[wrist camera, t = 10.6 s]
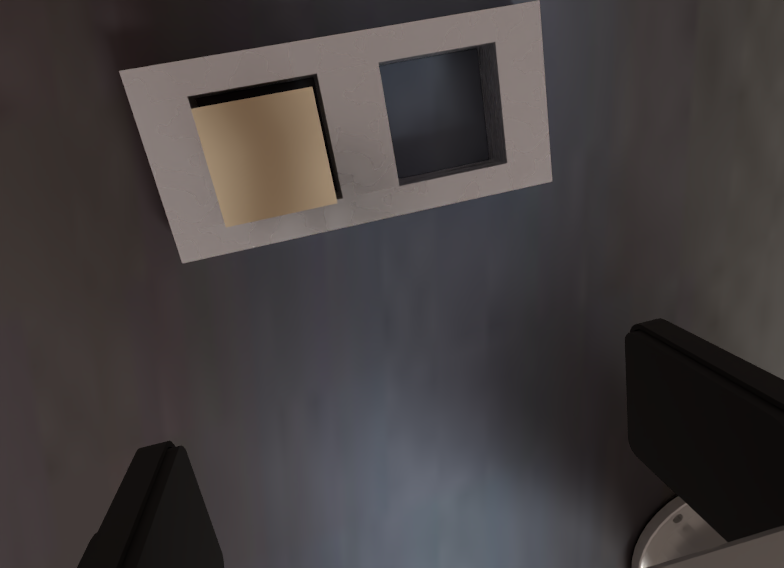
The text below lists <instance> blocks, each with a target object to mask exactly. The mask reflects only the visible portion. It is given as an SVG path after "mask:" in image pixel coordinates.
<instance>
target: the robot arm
mask: <svg viewBox="0 0 784 568" xmlns="http://www.w3.org/2000/svg"><path fill="white" fill-rule="evenodd" d="M625 357H626V386H627V415H628V439H629V444H630V447H631V449H632V451H633V452H634V454H635V455H636V456H637V457H638V458H639V459H640V460H641V461H642V462H643V463H644V464H645V465H646V466H647V467H648V468H649V469H650V470H652V471H653V472H654V473H655V474H656V475H657V476H658V477H659V478H660V479H661V480H662V481H663V482H664V483H665V484H666V485H667V486H669V487H670V488H671V489H672V490H673V491H674V492H675V493H676V494H677V495H678V496H677V497H676V498H675V499H673V500H672V501H670V502H669V503H667V504H666V505H665V506H664V507H663V508H662V509H661V510H660V511H658V512H657V513H656V515H655V516H654V517H653V518H652V519H651V520H650V522H649V523H648V524H647V525H646V527H645V529H644V530H643V532H642V533H641V535H640V537H639V539H638V541H637V544H636V546H635V549H634V553H633V557H632V568H784V380H783V379H781V378H779V377H777V376H775V375H773V374H771V373H769V372H767V371H765V370H763V369H761V368H759V367H757V366H755V365H753V364H751V363H749V362H747V361H745V360H743V359H741V358H739V357H737V356H735V355H733V354H731V353H729V352H727V351H725V350H723V349H721V348H719V347H717V346H716V345H714V344H712V343H710V342H708V341H706V340H704V339H702V338H700V337H698V336H696V335H694V334H692V333H690V332H688V331H686V330H684V329H682V328H680V327H678V326H676V325H674V324H672V323H670V322H668V321H666V320H664V319H661V318H660V319H655V320H651V321H647V322H643V323H639V324H635V325H634V326H633V327H632V328H631V331H630V333H628V334H627V335H626V337H625ZM77 568H224V561H223V555H222V552H221V549H220V546H219V543H218V540H217V537H216V534H215V532H214V529H213V526H212V523H211V520H210V517H209V514H208V512H207V509H206V506H205V503H204V500H203V497H202V495H201V492H200V489H199V486H198V483H197V480H196V477H195V475H194V472H193V469H192V466H191V463H190V460H189V458H188V455H187V452H186V450H185V448H184V447H183V446H178V447H175V445H174V444H173V443H172V442H171V441H167V442H163V443H159V444H155V445H151V446H147V447H143V448H139V449H138V450H137V452H136V454H135V456H134V458H133V460H132V462H131V464H130V466H129V468H128V470H127V472H126V474H125V476H124V478H123V481H122V483H121V485H120V487H119V489H118V491H117V493H116V495H115V497H114V499H113V501H112V503H111V506H110V508H109V510H108V512H107V514H106V516H105V518H104V520H103V522H102V524H101V526H100V528H99V531H98V532H97V533H96V534H94V536H93V537H92V539H91V540H90V542H89V544H88V546H87V548H86V550H85V552H84V554H83V557H82V559H81V561H80V563H79V565H78V567H77Z"/></svg>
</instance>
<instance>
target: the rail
mask: <svg viewBox="0 0 784 568" xmlns="http://www.w3.org/2000/svg"><path fill="white" fill-rule="evenodd" d="M474 48H477V51H478V60H479V69H480V78H481V87H482V96H483V105H484V114H485V124H486V133H487V142H488V151H489V160H486V161H481V162H476V163H471V164H467V165H462V166H457V167H452V168H448V169H443V170H438V171H434V172H429V173H424V174H419V175H415V176H410V177H405V178H400V179H398V175H397V169H396V163H395V157H394V151H393V145H392V139H391V134H390V128H389V122H388V116H387V110H386V104H385V98H384V93H383V87H382V81H381V75H380V69H379V65H385V64H390V63H396V62H402V61H407V60H413V59H418V58H424V57H430V56H435V55H441V54H446V53H452V52H458V51H463V50H469V49H474ZM119 73H120V76H121V79H122V82H123V85H124V88H125V91H126V94H127V97H128V100H129V103H130V106H131V109H132V112H133V115H134V118H135V121H136V124H137V127H138V130H139V133H140V136H141V139H142V142H143V145H144V148H145V151H146V155H147V158H148V161H149V164H150V167H151V170H152V173H153V176H154V179H155V182H156V185H157V188H158V191H159V194H160V197H161V200H162V203H163V206H164V209H165V212H166V215H167V218H168V221H169V224H170V227H171V230H172V233H173V236H174V239H175V243H176V246H177V249H178V252H179V255H180V258H181V261H182V263H187V262H191V261H196V260H200V259H205V258H209V257H214V256H218V255H223V254H227V253H232V252H236V251H241V250H245V249H250V248H255V247H259V246H264V245H268V244H273V243H277V242H282V241H286V240H291V239H295V238H300V237H304V236H309V235H313V234H318V233H322V232H327V231H331V230H336V229H340V228H345V227H349V226H354V225H358V224H363V223H367V222H372V221H376V220H381V219H385V218H390V217H394V216H399V215H403V214H408V213H412V212H417V211H422V210H426V209H431V208H435V207H440V206H444V205H449V204H453V203H458V202H462V201H467V200H471V199H476V198H480V197H485V196H489V195H494V194H498V193H503V192H507V191H512V190H516V189H521V188H525V187H530V186H534V185H539V184H543V183H548V182H552V170H551V156H550V142H549V128H548V114H547V99H546V85H545V71H544V57H543V43H542V29H541V15H540V0H539V1H533V2H527V3H521V4H515V5H509V6H503V7H497V8H491V9H485V10H479V11H473V12H467V13H461V14H455V15H449V16H443V17H437V18H431V19H425V20H420V21H414V22H408V23H402V24H396V25H390V26H384V27H378V28H372V29H366V30H360V31H354V32H348V33H342V34H336V35H330V36H324V37H318V38H312V39H306V40H300V41H295V42H289V43H283V44H277V45H271V46H265V47H259V48H253V49H247V50H241V51H235V52H229V53H223V54H217V55H211V56H205V57H199V58H193V59H187V60H181V61H175V62H170V63H164V64H158V65H152V66H146V67H140V68H134V69H128V70H122V71H119ZM312 77H313V78H314V82H315V87H316V92H317V97H318V101H319V106H320V111H321V115H322V120H323V125H324V130H325V134H326V139H327V144H328V148H329V153H330V158H331V163H332V167H333V172H334V177H335V182H336V186H337V191H338V192H335V194H336V198H337V204H332V205H327V206H323V207H318V208H314V209H309V210H304V211H300V212H295V213H291V214H286V215H281V216H277V217H272V218H268V219H263V220H258V221H254V222H249V223H245V224H240V225H235V226H231V227H226V226H225V223H224V219H223V216H222V213H221V209H220V206H219V202H218V199H217V196H216V192H215V189H214V185H213V182H212V179H211V175H210V172H209V169H208V165H207V162H206V158H205V155H204V152H203V148H202V145H201V141H200V138H199V135H198V131H197V128H196V124H195V121H194V118H193V114H192V111H191V109H193V108H198V106H197V102H196V99H195V98H200V97H206V96H211V95H217V94H223V93H228V92H234V91H239V90H245V89H251V88H256V87H262V86H267V85H273V84H279V83H284V82H290V81H295V80H301V79H307V78H312Z"/></svg>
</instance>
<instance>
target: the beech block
mask: <svg viewBox="0 0 784 568" xmlns="http://www.w3.org/2000/svg"><path fill="white" fill-rule="evenodd" d="M191 111H192V114H193V118H194V121H195V124H196V128H197V131H198V135H199V138H200V141H201V145H202V148H203V152H204V155H205V158H206V162H207V165H208V169H209V172H210V175H211V179H212V182H213V185H214V189H215V192H216V196H217V199H218V202H219V206H220V209H221V213H222V216H223V219H224V223H225V226H226V227H231V226H235V225H240V224H245V223H249V222H254V221H258V220H263V219H268V218H272V217H277V216H281V215H286V214H291V213H295V212H300V211H304V210H309V209H314V208H318V207H323V206H327V205H332V204H337V198H336V194H335V189H334V185H333V180H332V175H331V171H330V166H329V161H328V157H327V152H326V148H325V143H324V138H323V134H322V129H321V124H320V120H319V115H318V111H317V106H316V101H315V97H314V92H313V87H307V88H302V89H296V90H291V91H285V92H280V93H274V94H269V95H263V96H258V97H253V98H247V99H242V100H236V101H231V102H225V103H220V104H215V105H209V106H204V107H198V108H193V109H191Z"/></svg>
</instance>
